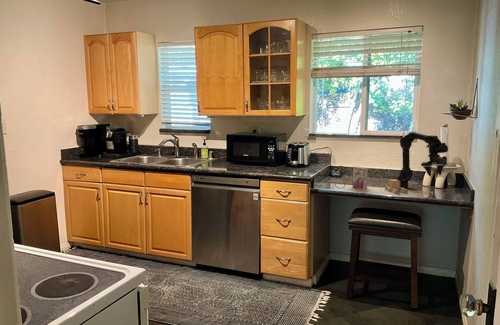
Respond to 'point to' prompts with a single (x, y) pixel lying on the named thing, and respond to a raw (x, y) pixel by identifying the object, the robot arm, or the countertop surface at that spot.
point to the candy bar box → (360, 177)
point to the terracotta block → (394, 184)
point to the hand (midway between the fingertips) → (435, 175)
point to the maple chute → (396, 190)
